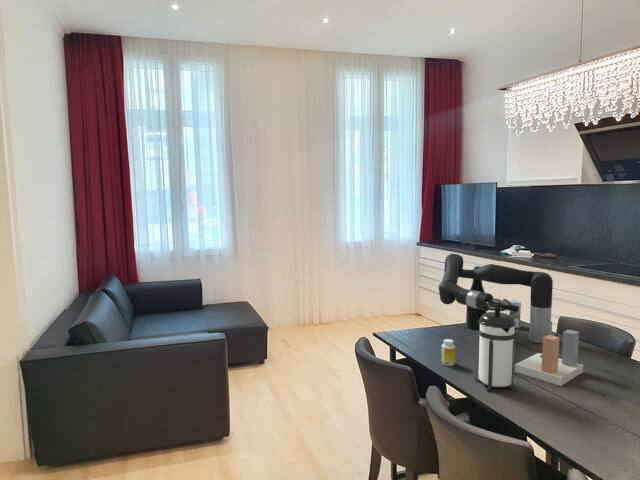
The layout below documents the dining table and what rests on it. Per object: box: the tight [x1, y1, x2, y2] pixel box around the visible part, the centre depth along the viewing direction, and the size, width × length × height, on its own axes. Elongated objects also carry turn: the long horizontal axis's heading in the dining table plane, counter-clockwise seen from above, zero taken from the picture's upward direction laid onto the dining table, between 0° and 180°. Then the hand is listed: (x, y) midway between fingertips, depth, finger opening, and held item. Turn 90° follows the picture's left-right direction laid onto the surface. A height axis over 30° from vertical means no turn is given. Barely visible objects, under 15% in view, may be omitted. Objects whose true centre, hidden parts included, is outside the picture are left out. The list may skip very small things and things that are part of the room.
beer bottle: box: [465, 265, 488, 331], centre depth 241 cm, size 10×10×33 cm
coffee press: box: [474, 307, 517, 392], centre depth 170 cm, size 17×16×30 cm
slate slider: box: [561, 329, 580, 366], centre depth 181 cm, size 4×5×13 cm
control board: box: [514, 352, 584, 387], centre depth 182 cm, size 18×20×4 cm
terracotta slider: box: [541, 335, 560, 373], centre depth 175 cm, size 4×5×13 cm
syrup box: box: [505, 299, 522, 329], centre depth 242 cm, size 6×6×14 cm
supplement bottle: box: [440, 338, 456, 367], centre depth 191 cm, size 6×6×10 cm
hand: (518, 309), depth 184 cm, fingers closed
